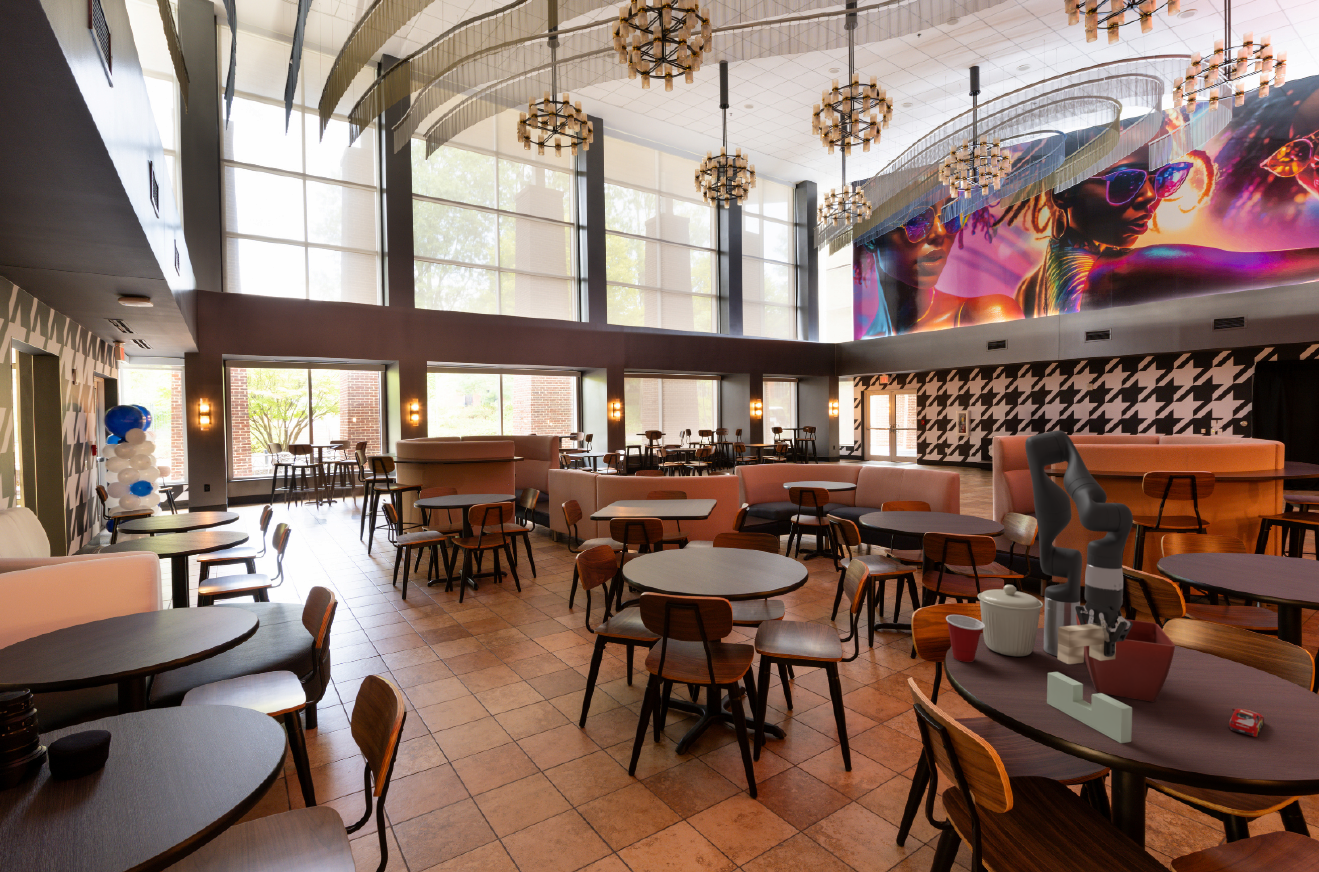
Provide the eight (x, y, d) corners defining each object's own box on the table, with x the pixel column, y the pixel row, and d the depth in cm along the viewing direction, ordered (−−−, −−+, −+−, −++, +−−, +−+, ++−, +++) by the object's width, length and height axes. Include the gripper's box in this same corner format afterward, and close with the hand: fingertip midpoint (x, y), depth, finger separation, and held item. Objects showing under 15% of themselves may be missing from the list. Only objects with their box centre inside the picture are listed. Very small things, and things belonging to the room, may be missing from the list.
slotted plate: (1103, 654, 153) (1104, 622, 153) (1115, 659, 150) (1116, 626, 150) (1057, 659, 150) (1058, 627, 150) (1068, 664, 147) (1069, 631, 147)
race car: (1235, 715, 154) (1236, 699, 154) (1266, 723, 150) (1266, 707, 150) (1225, 731, 146) (1225, 715, 146) (1256, 741, 142) (1257, 724, 142)
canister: (1030, 667, 183) (1032, 597, 182) (967, 649, 196) (968, 584, 195) (1049, 651, 195) (1051, 585, 194) (988, 636, 208) (990, 574, 207)
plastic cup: (978, 669, 181) (979, 629, 181) (940, 659, 189) (940, 620, 188) (988, 658, 189) (989, 619, 189) (951, 649, 196) (952, 612, 196)
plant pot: (1083, 695, 164) (1085, 633, 164) (1073, 669, 181) (1075, 612, 181) (1174, 711, 155) (1176, 646, 155) (1155, 682, 172) (1157, 623, 172)
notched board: (1046, 703, 160) (1047, 672, 160) (1056, 701, 161) (1057, 671, 160) (1120, 743, 140) (1121, 709, 140) (1131, 741, 141) (1132, 707, 141)
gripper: (1066, 577, 156) (1064, 644, 157) (1118, 593, 143) (1116, 666, 143) (1090, 575, 158) (1088, 641, 159) (1144, 591, 144) (1142, 663, 145)
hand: (1101, 653), depth 151 cm, fingers closed on slotted plate, 3 cm apart
